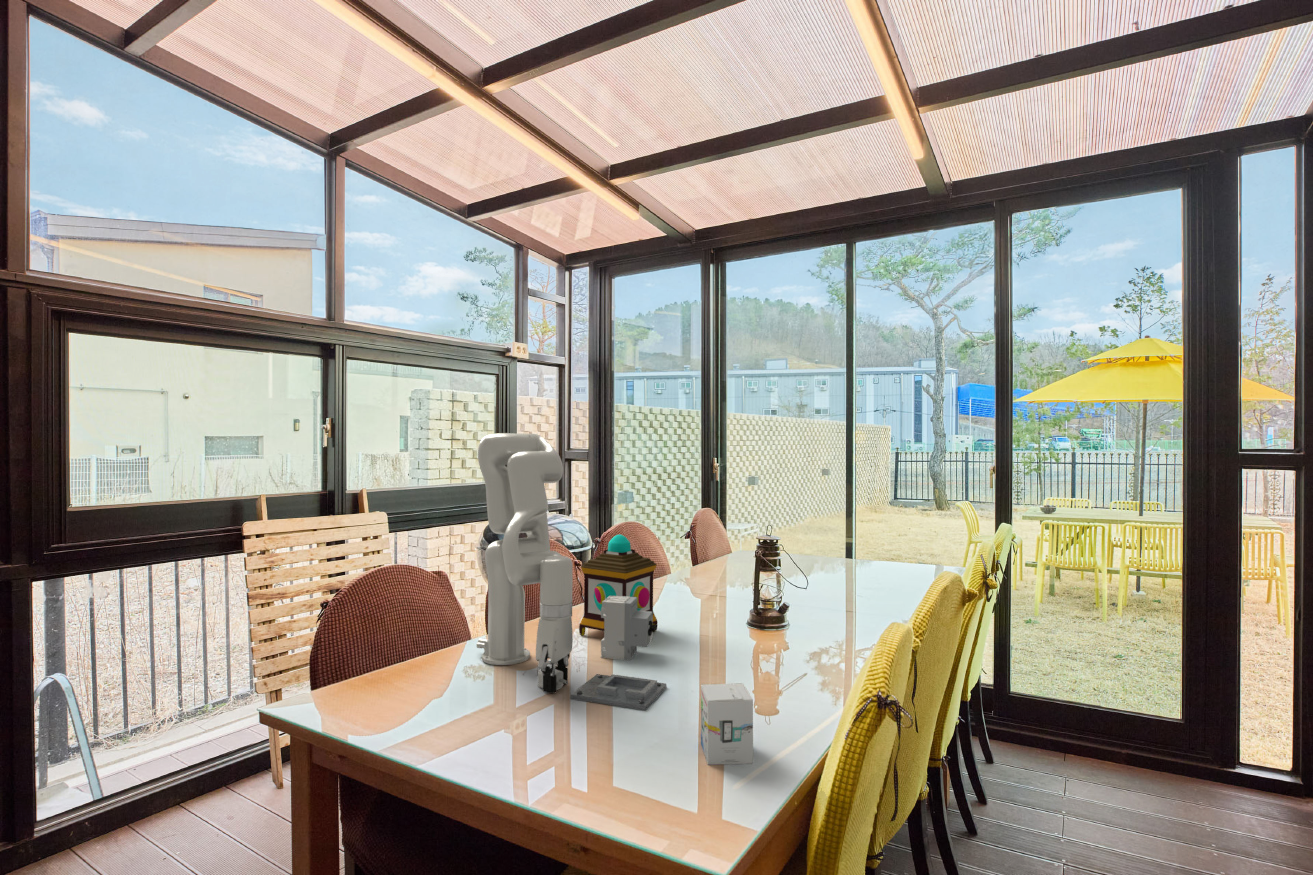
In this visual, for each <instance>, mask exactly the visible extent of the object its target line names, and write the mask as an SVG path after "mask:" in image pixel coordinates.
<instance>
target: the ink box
mask: <svg viewBox="0 0 1313 875" xmlns="http://www.w3.org/2000/svg"><path fill="white" fill-rule="evenodd" d="M700 745H701V749H702V752H703V754H704V757H705V760H706V763H707V765H708V766H709V765H710V766H712V765H716V766H717V765H741V764H744V765H745V764H747V765H748V764H753V763H754V699H753V698H752V696H751V694H750V693H749V691H748V690H747V688H746V686H745V684H744V683H743V682H741V683H734V682H733V683H731V682H730V683H711V684H710V683H708V684H707V683H706V684H703V683H702V684H700Z"/></svg>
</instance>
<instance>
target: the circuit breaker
mask: <svg viewBox="0 0 1313 875" xmlns="http://www.w3.org/2000/svg"><path fill="white" fill-rule="evenodd" d="M653 612H654V611H653ZM653 612H650V611H637V597H625V596H609V597H608V598H606V599H605V600H604V601H603V602H602V608H601V618H604V631H603V632H604V633H603V638H602V639H601V640H600V658H601V659H604V658H605V659H610V660H622V661H624V660H625V661H631V659H632V658H633V657H634V656H635V654H636V653H637V651H638V648H639V647H640V648H647V647H648V646H649V644H650V643H651V642H652V640H653V634H654V633H655V632H656V631H657V630H658V624H657V625H653ZM603 613H604V614H603ZM655 630H656V631H655Z"/></svg>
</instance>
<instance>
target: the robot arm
mask: <svg viewBox="0 0 1313 875" xmlns="http://www.w3.org/2000/svg"><path fill="white" fill-rule="evenodd" d="M477 458H478V459H477V461H478V466H479V469H480V471H481V474H482V477H483V480H484V484H485V493H486V494H485V496H486V497H485V498H486V509H487V521H488V522H487V523H488V526H489V529H490V531H491V532H493V534H496V535H503V539H500V540H495V541H492V542H491V543H490V544H489V545H488V546H486V549H485V552H484V562H485V568H486V573H487V583H488V585H487V586H488V587H487V588H488V590H487V591H488V596H487V597H488V598H487V599H488V600H487V601H488V602H487V603H488V605H487V606H488V607H487V608H488V609H487V610H488V612H487V614H488V616H487V622H488V623H487V639H486V638H479V639H477V640H478V641H477V644H476V648H477V649H483V651H484V652H483V653H482V654H481V660H482V661H483V662H484V663H485V664H488V665H493V666H508V665H509V666H510V665H511V666H512V665H517V664H520V663H523V662H525V661H528V660H529V659H530V657H531V651H530V650H529V649H528V648H525V625H526V624H525V610H526V608H525V607H526V604H525V603H526V602H525V600H526V594H525V587H524V586H526V585H527V586H528V585H536V584H539V585H540V586H539V619H538V624H537V631H536V643H535V644H536V645H535V660H536V662H538V663H537V668H538V669H539V671H540V670H541V671H542V675H543V688H542V691H543V693H550V694H556V693H557V690H556V675H555V669H556V670H560V671H562V672H563V679H564V680H566V683H567V681H568V680H569V679H568V674H569V672H568V671H569V664H570V663H569V662H570V661H569V659H570V656H571V653H572V650H573V644H574V643H573V642H574V641H573V640H574V639H573V636H574V635H573V634H574V633H573V620H572V619H573V618H572V617H573V577H574V576H573V574H574V572H573V571H574V570H573V568H574V566H573V565H574V564H573V560H572V559H571V558H570V557H569V556H566V555H562V554H561V553H559V552H558V551H556V550H551V545H550V544H551V543H550V535H549V534H550V533H549V521H548V513H547V512H548V511H549V503H548V497H547V492H546V487H545V484H554V483H558V482H559V481H560V480H561V479H562V478H563V474H564V466H563V462H562V459H561V456H560V454H559V453H558V452H557V450H556V449H555V448H554V447H553V446H552V444H550V443H549V442H548V441H547V440H546V438H544V437H543V436H541V435H540V434H537V433H516V432H515V433H512V432H510V433H509V432H504V433H503V432H499V433H497V432H496V433H492V434H490V433H489V434H487V435H486V436H484V437H482V438H481V440H480V442H479V444H478V449H477ZM524 533H525V534H526V536H527V537H520V534H524ZM548 659H550V660H548ZM549 665H551V667H550V666H549ZM568 682H569V681H568ZM563 686H567V684H565V683H563Z"/></svg>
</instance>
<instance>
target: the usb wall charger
mask: <svg viewBox="0 0 1313 875" xmlns="http://www.w3.org/2000/svg"><path fill="white" fill-rule="evenodd" d="M555 675H556V691H557V690H560V689H562V688H563V687H564V685H563V683H565V684H566V685H568V684H569V681H567V683H566V680H564V679H563V672H562V671H560V670H556V669H555ZM537 687H538V688H540V689H543V675H542V671H541V670H540V669H539V670H538V672H537Z"/></svg>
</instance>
